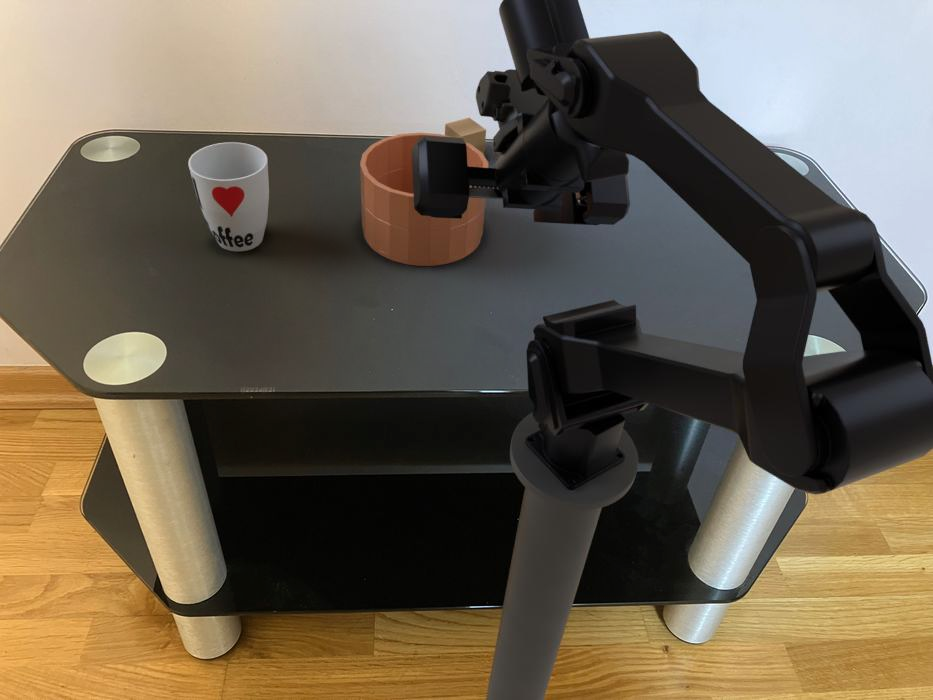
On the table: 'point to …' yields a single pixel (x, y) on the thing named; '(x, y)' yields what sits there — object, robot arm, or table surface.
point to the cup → (232, 192)
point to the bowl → (412, 208)
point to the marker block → (467, 132)
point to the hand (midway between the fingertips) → (490, 214)
